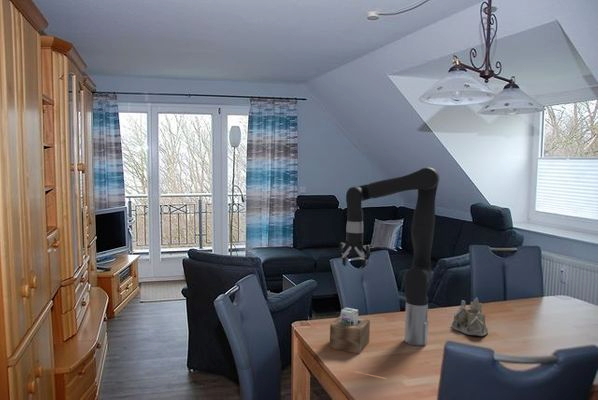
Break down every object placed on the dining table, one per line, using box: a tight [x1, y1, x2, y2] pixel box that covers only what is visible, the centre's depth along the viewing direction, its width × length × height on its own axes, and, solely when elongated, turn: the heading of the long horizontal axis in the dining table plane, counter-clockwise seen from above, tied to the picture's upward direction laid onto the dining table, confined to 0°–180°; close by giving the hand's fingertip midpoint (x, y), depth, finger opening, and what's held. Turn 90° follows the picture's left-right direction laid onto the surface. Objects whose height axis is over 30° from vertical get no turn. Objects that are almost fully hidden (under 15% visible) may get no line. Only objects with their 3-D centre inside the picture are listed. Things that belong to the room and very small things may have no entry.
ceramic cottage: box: [451, 297, 489, 337], centre depth 208 cm, size 16×16×15 cm
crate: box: [329, 315, 371, 355], centre depth 189 cm, size 13×13×10 cm
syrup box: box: [340, 307, 359, 326], centre depth 189 cm, size 6×6×14 cm
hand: (353, 266), depth 203 cm, fingers open, 8 cm apart
